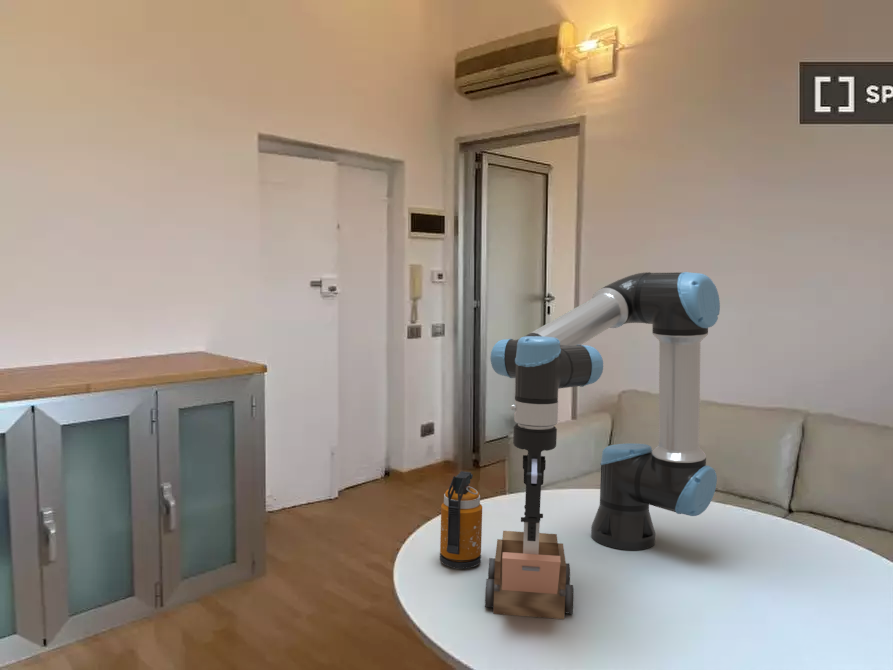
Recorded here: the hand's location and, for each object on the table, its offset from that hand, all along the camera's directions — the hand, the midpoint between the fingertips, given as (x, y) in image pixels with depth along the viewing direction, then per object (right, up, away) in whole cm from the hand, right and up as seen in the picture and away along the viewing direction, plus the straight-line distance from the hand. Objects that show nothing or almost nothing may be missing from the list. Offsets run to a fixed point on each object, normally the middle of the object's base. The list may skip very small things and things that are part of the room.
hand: (530, 555), depth 120 cm
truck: (+1, -12, +12) cm, 17 cm away
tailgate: (0, -8, +4) cm, 9 cm away
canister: (-12, -11, +27) cm, 32 cm away
